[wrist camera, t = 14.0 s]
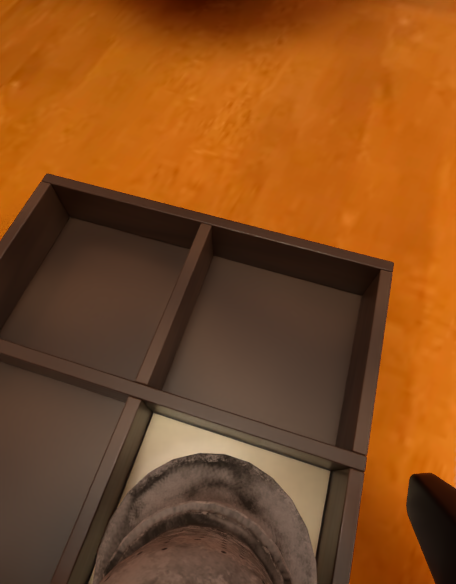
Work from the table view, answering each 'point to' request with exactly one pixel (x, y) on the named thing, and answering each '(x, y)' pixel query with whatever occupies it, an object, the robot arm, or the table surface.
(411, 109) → the table surface
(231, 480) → the chess piece
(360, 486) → the grid
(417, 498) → the robot arm
